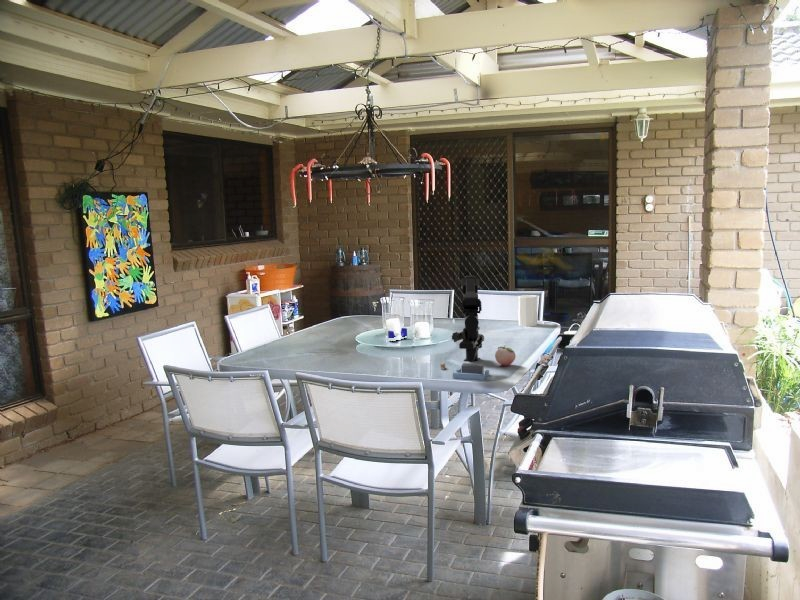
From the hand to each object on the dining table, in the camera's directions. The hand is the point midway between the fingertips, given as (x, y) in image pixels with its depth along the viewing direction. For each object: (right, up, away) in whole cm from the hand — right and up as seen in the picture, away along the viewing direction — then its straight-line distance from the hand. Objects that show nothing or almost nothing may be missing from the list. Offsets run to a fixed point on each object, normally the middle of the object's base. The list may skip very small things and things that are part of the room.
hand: (472, 360), depth 269 cm
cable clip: (-33, +3, +86) cm, 92 cm away
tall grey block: (0, -7, +1) cm, 7 cm away
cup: (+47, +10, +110) cm, 120 cm away
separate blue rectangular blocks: (-1, -7, -2) cm, 7 cm away
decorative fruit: (+16, -4, +14) cm, 22 cm away
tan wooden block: (-6, -5, +12) cm, 14 cm away
